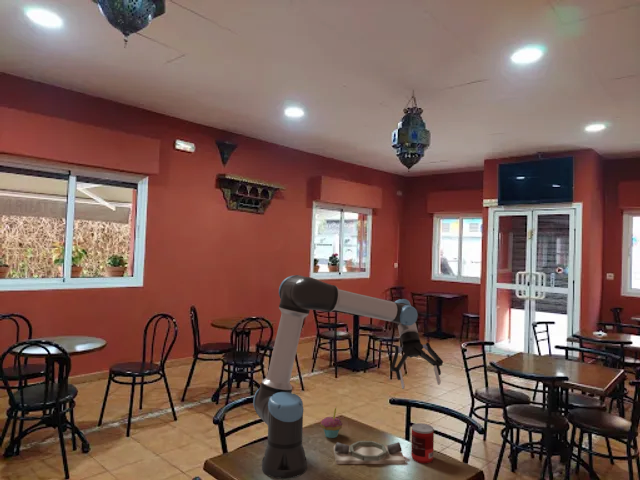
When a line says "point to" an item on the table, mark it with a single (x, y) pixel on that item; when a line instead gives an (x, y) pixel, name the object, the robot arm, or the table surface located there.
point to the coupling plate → (368, 453)
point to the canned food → (422, 443)
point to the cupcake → (331, 426)
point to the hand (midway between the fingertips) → (421, 385)
